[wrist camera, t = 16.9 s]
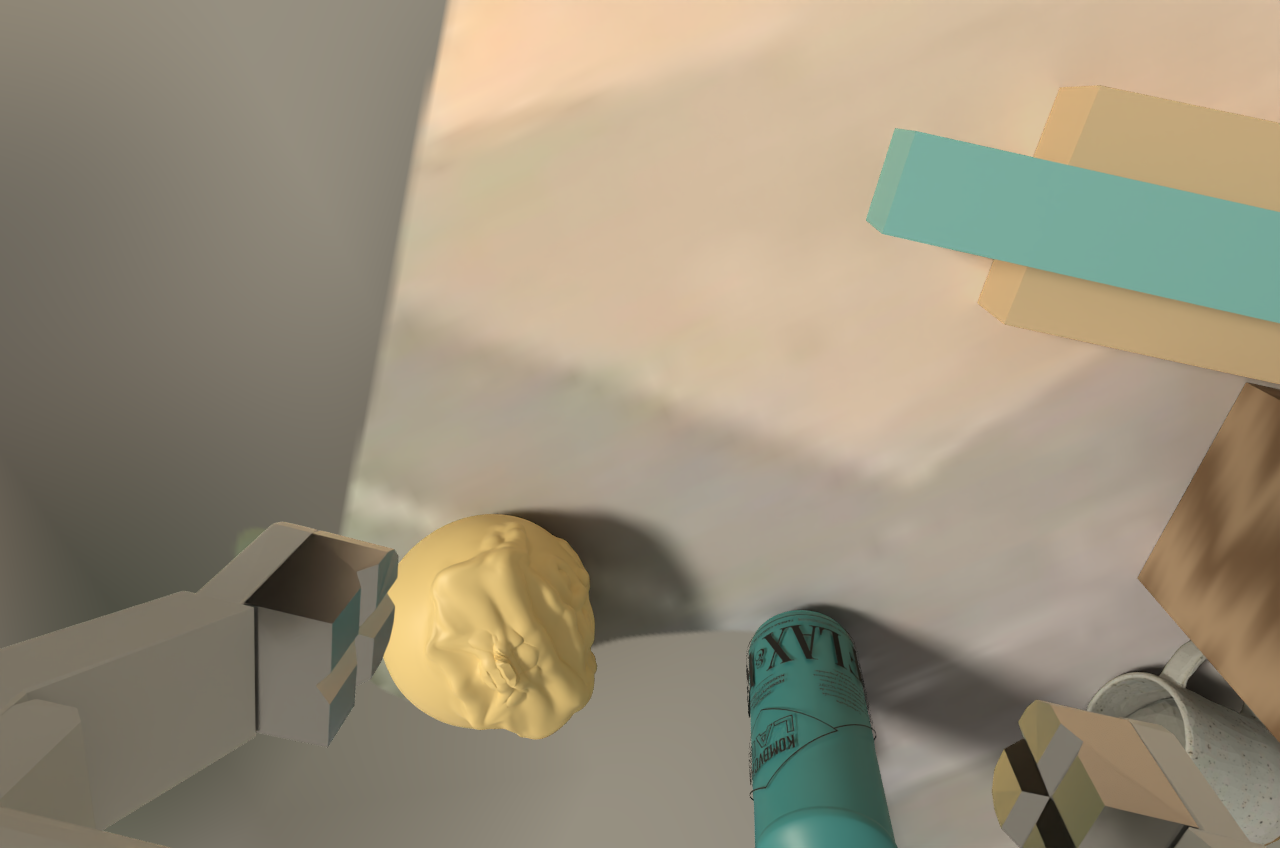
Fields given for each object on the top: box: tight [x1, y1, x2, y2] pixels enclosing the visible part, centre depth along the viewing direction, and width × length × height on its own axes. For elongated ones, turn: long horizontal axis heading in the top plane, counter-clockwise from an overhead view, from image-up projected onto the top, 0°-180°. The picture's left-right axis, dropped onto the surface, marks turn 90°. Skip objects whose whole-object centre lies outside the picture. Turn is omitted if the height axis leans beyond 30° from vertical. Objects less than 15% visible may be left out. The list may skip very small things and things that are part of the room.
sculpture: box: [383, 514, 597, 739], centre depth 42 cm, size 12×12×11 cm
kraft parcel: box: [978, 85, 1280, 384], centre depth 34 cm, size 10×16×4 cm, turn 79°
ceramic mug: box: [1086, 640, 1280, 846], centre depth 42 cm, size 11×8×8 cm
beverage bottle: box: [746, 610, 897, 848], centre depth 37 cm, size 6×7×20 cm
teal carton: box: [866, 128, 1280, 323], centre depth 30 cm, size 4×22×4 cm, turn 79°
